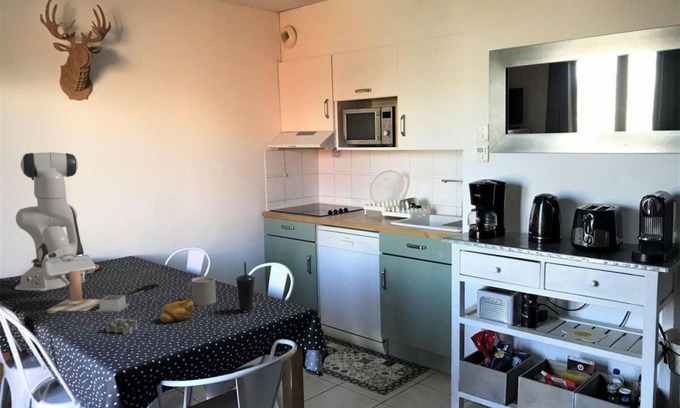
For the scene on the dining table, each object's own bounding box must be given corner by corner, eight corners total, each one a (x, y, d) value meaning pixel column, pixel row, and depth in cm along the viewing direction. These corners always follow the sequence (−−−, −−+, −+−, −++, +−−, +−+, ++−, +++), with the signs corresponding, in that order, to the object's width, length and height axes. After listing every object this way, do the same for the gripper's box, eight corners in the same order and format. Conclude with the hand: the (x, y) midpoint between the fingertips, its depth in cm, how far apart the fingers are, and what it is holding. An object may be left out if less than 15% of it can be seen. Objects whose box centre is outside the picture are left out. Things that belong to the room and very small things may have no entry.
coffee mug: (220, 302, 238) (219, 279, 237) (200, 307, 231) (199, 283, 230) (203, 296, 247) (202, 274, 246) (183, 301, 240) (182, 278, 239)
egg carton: (102, 332, 201) (102, 321, 200) (117, 326, 208) (116, 315, 208) (127, 335, 197) (126, 324, 197) (140, 328, 205) (140, 317, 204)
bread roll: (165, 326, 206) (164, 305, 206) (153, 320, 213) (153, 300, 213) (196, 318, 215) (196, 298, 215) (184, 313, 222) (183, 293, 221)
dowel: (68, 301, 228) (66, 272, 227) (73, 298, 233) (72, 270, 232) (78, 301, 228) (77, 272, 227) (84, 298, 233) (82, 270, 231)
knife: (120, 301, 242) (120, 298, 242) (109, 299, 245) (109, 296, 245) (162, 287, 264) (161, 284, 264) (151, 286, 267) (151, 283, 267)
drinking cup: (259, 308, 227) (257, 261, 225) (250, 314, 220) (248, 264, 218) (242, 307, 230) (241, 259, 228) (233, 312, 223) (231, 263, 221)
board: (46, 313, 223) (46, 310, 223) (67, 301, 239) (67, 299, 239) (85, 313, 223) (85, 310, 223) (104, 302, 239) (103, 299, 238)
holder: (95, 313, 223) (94, 301, 222) (106, 306, 232) (106, 294, 232) (119, 313, 222) (119, 301, 222) (130, 306, 232) (129, 294, 232)
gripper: (86, 257, 244) (98, 283, 239) (37, 265, 229) (48, 292, 223) (90, 249, 241) (102, 274, 236) (41, 256, 225) (52, 283, 220)
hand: (76, 283), depth 229 cm, fingers closed on dowel, 4 cm apart
